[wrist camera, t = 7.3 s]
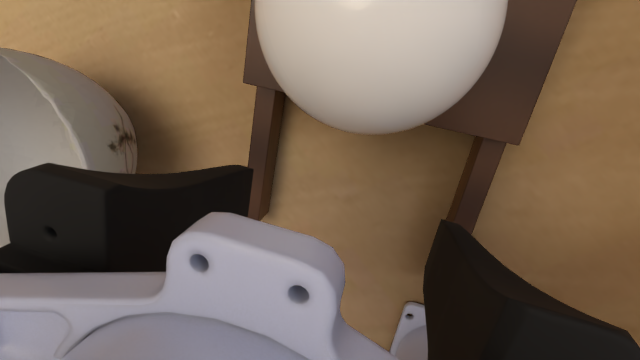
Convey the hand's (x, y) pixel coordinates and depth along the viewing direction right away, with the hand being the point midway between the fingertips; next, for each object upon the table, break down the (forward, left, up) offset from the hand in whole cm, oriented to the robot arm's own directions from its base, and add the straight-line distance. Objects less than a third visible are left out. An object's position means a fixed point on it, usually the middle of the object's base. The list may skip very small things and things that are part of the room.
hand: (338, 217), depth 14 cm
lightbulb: (+7, 0, -6) cm, 9 cm away
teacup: (-5, +19, -10) cm, 22 cm away
